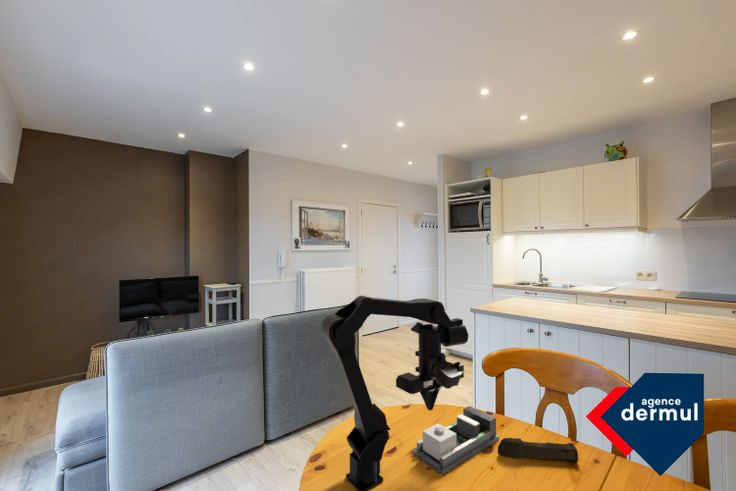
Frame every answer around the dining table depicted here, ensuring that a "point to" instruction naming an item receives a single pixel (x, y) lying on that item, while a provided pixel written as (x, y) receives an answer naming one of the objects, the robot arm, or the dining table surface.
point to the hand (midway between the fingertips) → (430, 409)
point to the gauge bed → (462, 443)
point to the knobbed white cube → (438, 440)
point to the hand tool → (537, 450)
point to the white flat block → (467, 426)
